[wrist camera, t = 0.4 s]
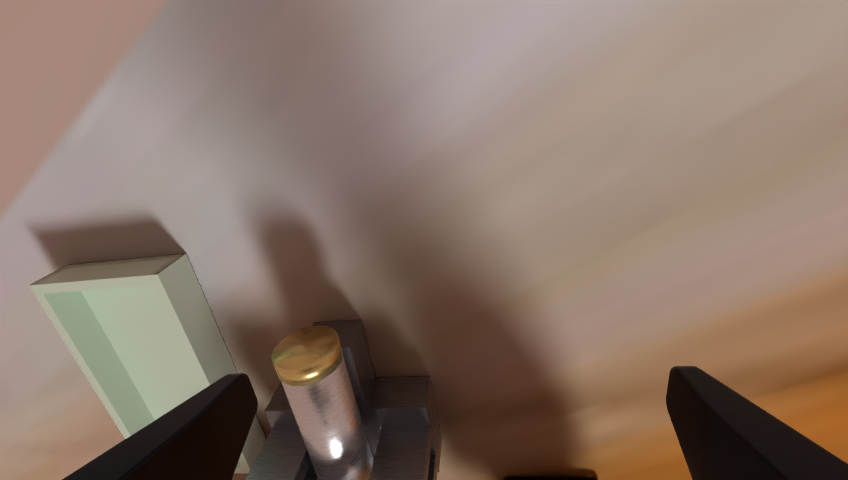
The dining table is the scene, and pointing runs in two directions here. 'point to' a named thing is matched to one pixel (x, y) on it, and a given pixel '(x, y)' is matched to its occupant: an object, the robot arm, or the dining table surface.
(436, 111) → the dining table surface
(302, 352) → the gold capped cylinder
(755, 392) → the dining table surface
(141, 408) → the tray
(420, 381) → the clevis block
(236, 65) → the dining table surface
